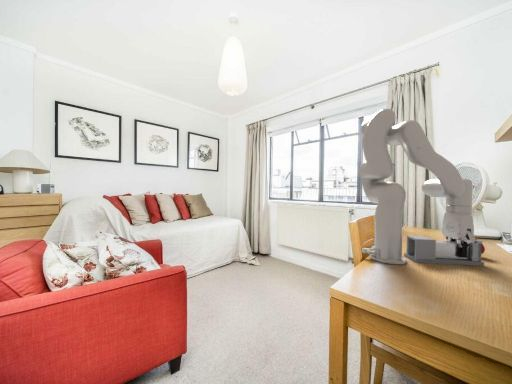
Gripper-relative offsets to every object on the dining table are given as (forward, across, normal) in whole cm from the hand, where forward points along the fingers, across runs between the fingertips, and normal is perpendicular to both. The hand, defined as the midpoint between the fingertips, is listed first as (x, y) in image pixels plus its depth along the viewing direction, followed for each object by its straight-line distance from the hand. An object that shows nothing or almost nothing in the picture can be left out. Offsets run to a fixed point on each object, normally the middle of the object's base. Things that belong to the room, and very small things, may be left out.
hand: (457, 255), depth 85 cm
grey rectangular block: (+1, 0, -3) cm, 3 cm away
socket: (+1, 0, +4) cm, 5 cm away
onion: (+3, -8, +13) cm, 15 cm away
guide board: (+2, 0, -6) cm, 6 cm away
